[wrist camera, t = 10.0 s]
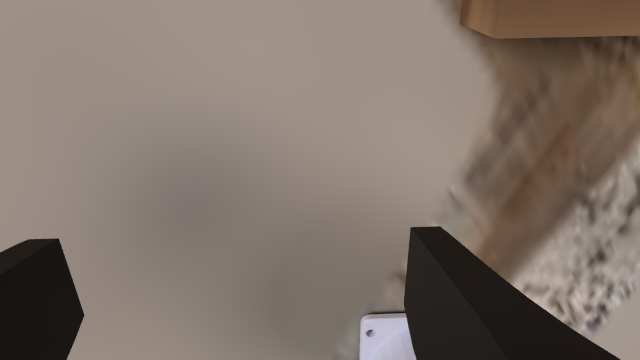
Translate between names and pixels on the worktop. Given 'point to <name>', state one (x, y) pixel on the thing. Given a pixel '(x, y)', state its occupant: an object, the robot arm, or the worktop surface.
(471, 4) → the walnut stand
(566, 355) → the robot arm
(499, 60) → the worktop surface
